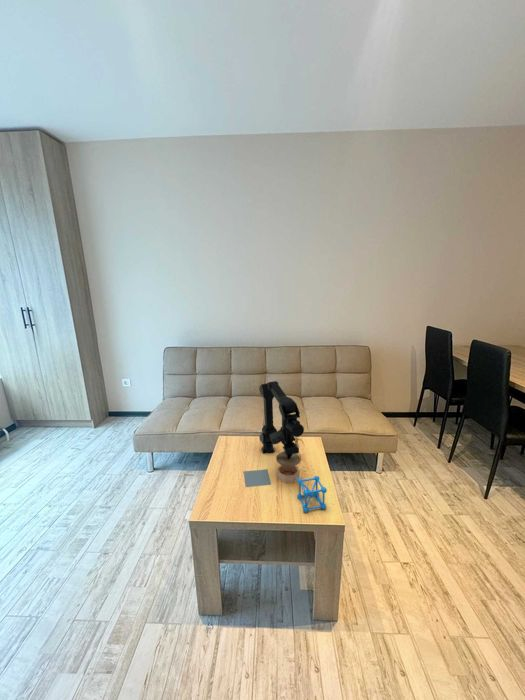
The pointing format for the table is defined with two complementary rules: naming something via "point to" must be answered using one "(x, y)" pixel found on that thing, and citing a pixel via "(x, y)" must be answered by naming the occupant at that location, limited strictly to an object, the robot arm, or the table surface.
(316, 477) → the molecular structure
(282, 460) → the lid
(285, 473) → the bowl
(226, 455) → the table surface
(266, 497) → the table surface
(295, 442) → the figurine
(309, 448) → the table surface
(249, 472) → the mat
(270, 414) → the robot arm
